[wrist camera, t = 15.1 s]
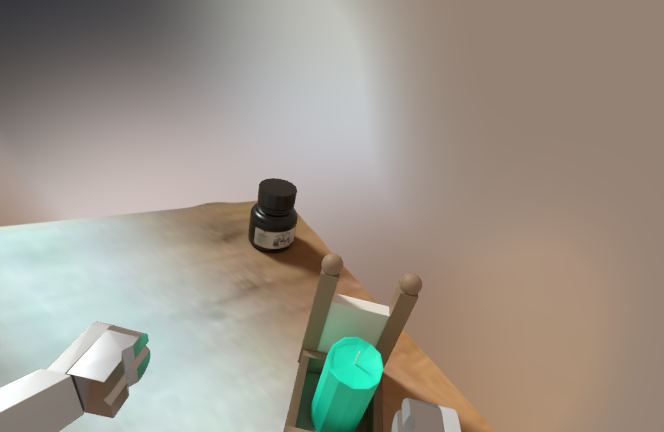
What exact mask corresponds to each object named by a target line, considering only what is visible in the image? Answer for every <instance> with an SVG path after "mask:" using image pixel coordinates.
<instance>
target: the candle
mask: <svg viewBox="0 0 664 432" xmlns="http://www.w3.org/2000/svg"><path fill="white" fill-rule="evenodd" d="M383 369H384V368H383V363H382V358H381V354H380V353H379V352H378V351H377V350H376V349H375V348H374V347H373V346H372V345H371V344H370V343H368V342H366V341H364V340H362V339H360V338H358V337H344V338H342V339H341V340H339V341H338V342H337V343H335V344H334V345H332V347H331V349H330V351H329V353H328V355H327V358H326V361H325V364H324V367H323V370H322V373H321V376H320V379H319V382H318V386H317V389H316V392H315V395H314V398H313V401H312V404H311V407H310V412H311V422H312V424H313V425H314V427H315V429H316V430H317V432H355V430H356V428H357V426H358V424H359V422H360V420H361V418H362V416H363V414H364V412H365V410H366V408H367V406H368V404H369V402H370V400H371V398H372V396H373V394H374V392H375V390H376V388H377V386H378V384H379V382H380V379H381V376H382V372H383Z"/></svg>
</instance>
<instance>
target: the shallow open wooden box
mask: <svg viewBox="0 0 664 432" xmlns="http://www.w3.org/2000/svg"><path fill="white" fill-rule="evenodd" d="M327 355H328V354H325V353H321V352H316V351H312V350H308V349H304V348H303V352H302V356H301V360H300V364H299V368H298V372H297V377H296V381H295V385H294V389H293V394H292V398H291V402H290V407H289V411H288V415H287V419H286V424H285V428H284V432H312V431H308V430H304V429H300V428H296V427H295V425H296V420H297V415H298V410H299V405H300V401H301V396H302V391H303V386H304V381H305V377H306V372H307V371H309V372H313V373H317V374H321V373H322V370H323V367H324V364H325V361H326V358H327ZM367 432H383V424H382V376H381V379H380V382H379V384H378V386H377V388H376V390H375V392H374V394H373V396H372V398H371V400H370V402H369V404H368V406H367Z"/></svg>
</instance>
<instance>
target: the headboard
mask: <svg viewBox="0 0 664 432" xmlns="http://www.w3.org/2000/svg"><path fill="white" fill-rule="evenodd" d="M342 268H343V261H342V259H341V257H340V256H338V255H337V254H328V255H326V256H325V257H324V258H323V260H322V270H321V274H320V278H319V282H318V286H317V289H316V293H315V297H314V301H313V305H312V309H311V313H310V317H309V320H308V324H307V328H306V332H305V336H304V340H303V344H302V348H301V352H300V356H299V360H298V362H300V360H301V356H302V352H303V348H304V349H308V350H312V351H316V352H321V353H325V354H328V353H329V351H330V349H331V347H332V345H334V344H335V343H337V342H338V341H339V340H341V339H342V338H344V337H358V338H360V339H362V340H364V341H366V342H368V343H370V344H371V345H372V346H373V347H374V348H375V349H376V350H377V351H378V352H379V353H380V354H381V358H382V363H383V368H384V367H385V364H386V362H387V360H388V358H389V356H390V354H391V352H392V350H393V348H394V346H395V344H396V342H397V340H398V338H399V336H400V334H401V332H402V330H403V328H404V326H405V324H406V322H407V319H408V318H409V315H410V313H411V311H412V309H413V307H414V305H415V303H416V301H417V299H418V293H419V292H420V290H421V288H422V281H421V279H420V277H419V276H418V275H416V274H413V273H408V274H405V275H404V276H403V277H402V278H401V280H400V281H399V283H398V286H397V288H396V290H395V293H394V295H393V297H392V300H391V302H390V304H389V306H384V305H380V304H376V303H372V302H368V301H364V300H360V299H356V298H352V297H348V296H344V295H340V294H336V293H334V292H335V288H336V285H337V282H338V278H339V273H340V272H341V270H342Z"/></svg>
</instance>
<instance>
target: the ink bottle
mask: <svg viewBox="0 0 664 432" xmlns="http://www.w3.org/2000/svg"><path fill="white" fill-rule="evenodd" d="M296 193H297V189H296V186H294V185H293V184H292V183H290V182H288V181H285V180H281V179H274V178H273V179H266V180H264V181H262V182H261V183H260V184H259V192H258V203H256V204H255V205H254V206H253V207H252V209H251V214H250V224H249V234H248V237H249V241H250V242H251V244H252V245H253V246H254V247H256V248H257V249H259V250H262V251H265V252H280V251H283V250H286V249H288V248H289V247H290V246H291V245H292V243H293V240H294V235H295V230H296V224H297V212H296V211H295V209H294V204H295V198H296Z"/></svg>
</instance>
